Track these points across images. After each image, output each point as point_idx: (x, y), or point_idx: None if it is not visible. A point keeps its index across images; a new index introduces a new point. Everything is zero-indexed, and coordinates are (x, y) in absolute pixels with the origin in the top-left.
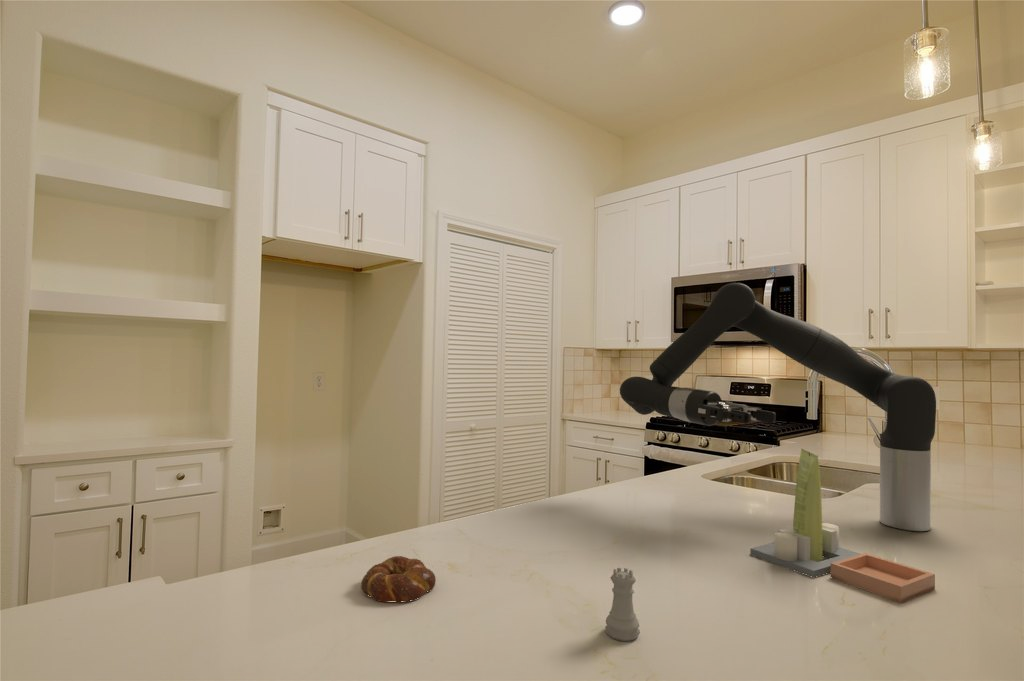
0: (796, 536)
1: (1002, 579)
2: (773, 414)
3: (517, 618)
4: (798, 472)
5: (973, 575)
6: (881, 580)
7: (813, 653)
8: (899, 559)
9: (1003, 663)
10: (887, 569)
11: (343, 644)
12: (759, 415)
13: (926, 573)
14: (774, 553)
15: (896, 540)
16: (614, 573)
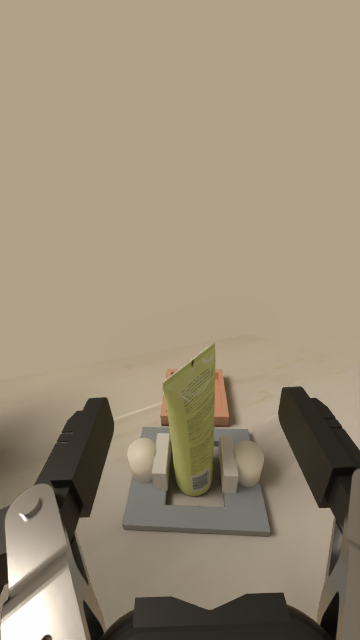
0: (235, 445)
1: (98, 366)
2: (106, 401)
3: None
4: (191, 409)
5: (104, 376)
6: (223, 380)
7: (352, 372)
8: None
9: (245, 337)
10: None
11: None
12: (86, 481)
13: (171, 372)
14: (248, 490)
15: (14, 451)
16: None
